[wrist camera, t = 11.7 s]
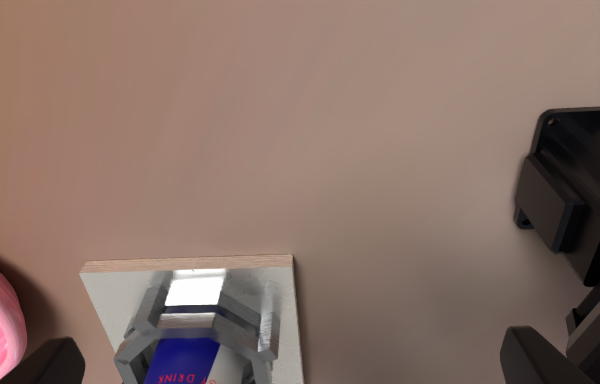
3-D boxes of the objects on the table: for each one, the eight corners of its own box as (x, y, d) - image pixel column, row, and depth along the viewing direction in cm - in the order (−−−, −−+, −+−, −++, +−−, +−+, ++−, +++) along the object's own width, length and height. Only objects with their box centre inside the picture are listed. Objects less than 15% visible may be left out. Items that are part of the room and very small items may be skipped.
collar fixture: (292, 254, 25) (289, 302, 22) (304, 381, 32) (303, 431, 29) (86, 261, 26) (56, 308, 23) (140, 383, 32) (122, 433, 29)
